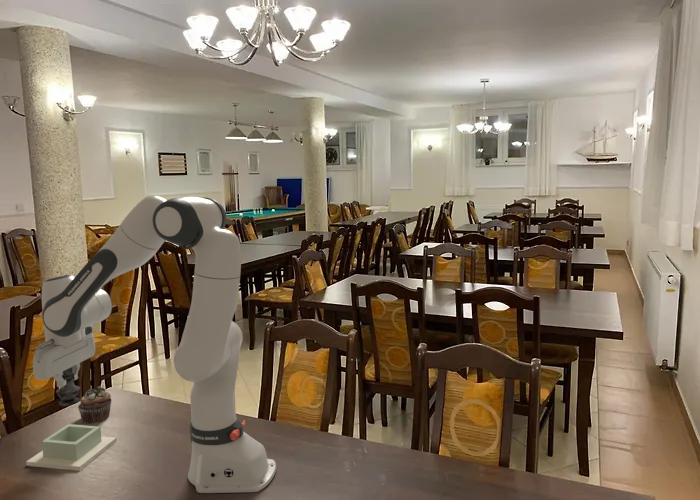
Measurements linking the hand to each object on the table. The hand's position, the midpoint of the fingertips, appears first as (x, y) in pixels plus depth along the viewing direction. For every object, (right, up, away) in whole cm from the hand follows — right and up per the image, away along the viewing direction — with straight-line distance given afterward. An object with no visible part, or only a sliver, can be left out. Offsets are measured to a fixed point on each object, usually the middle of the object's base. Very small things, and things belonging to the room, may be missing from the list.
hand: (67, 383), depth 147 cm
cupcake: (-4, -18, +25) cm, 31 cm away
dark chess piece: (0, -6, +1) cm, 6 cm away
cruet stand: (0, -20, +3) cm, 21 cm away
